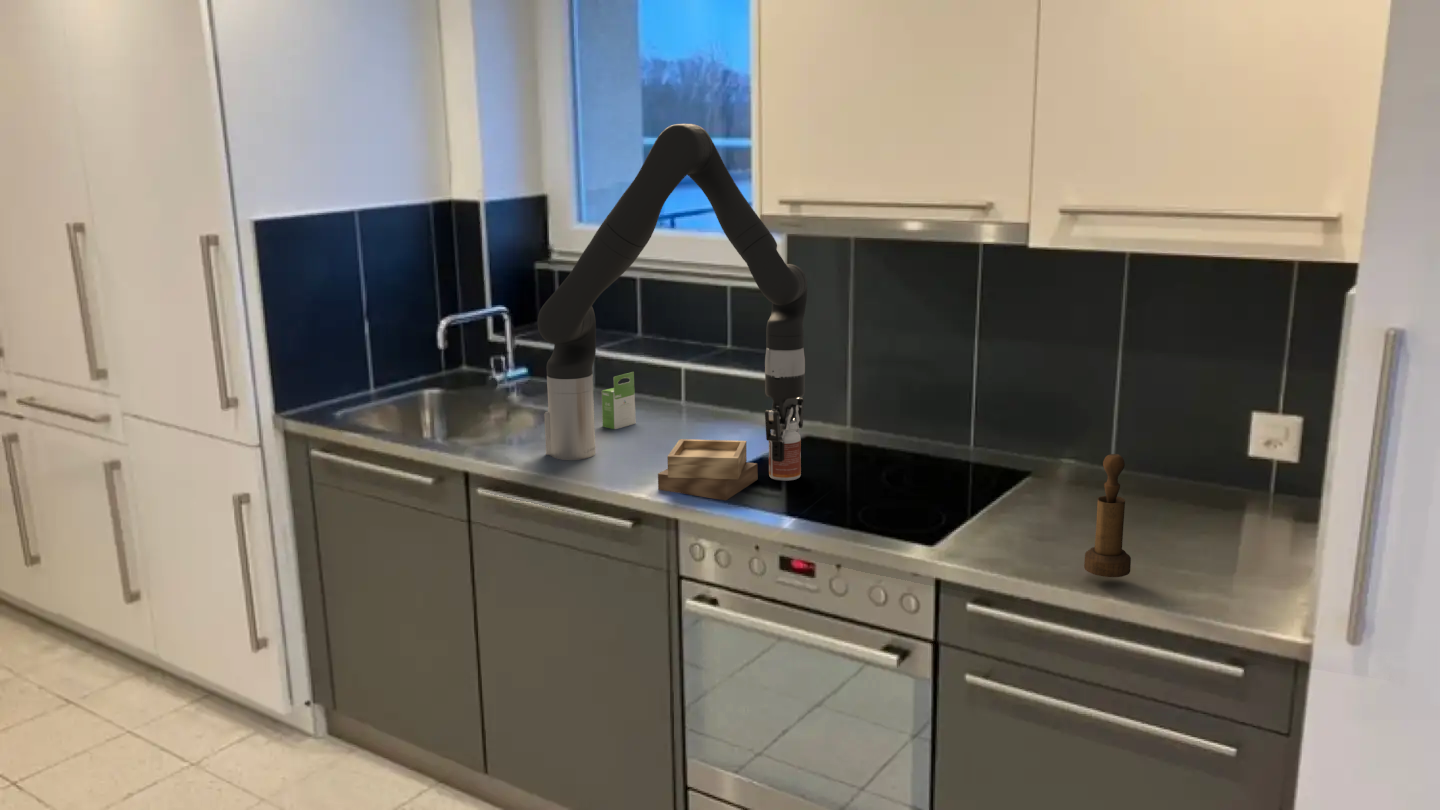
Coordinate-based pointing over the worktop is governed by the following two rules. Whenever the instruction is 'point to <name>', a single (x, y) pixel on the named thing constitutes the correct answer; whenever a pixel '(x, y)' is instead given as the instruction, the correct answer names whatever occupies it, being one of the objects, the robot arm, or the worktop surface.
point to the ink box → (619, 403)
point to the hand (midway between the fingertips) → (784, 456)
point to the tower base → (709, 484)
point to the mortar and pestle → (1109, 527)
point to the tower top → (707, 459)
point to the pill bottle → (787, 456)
